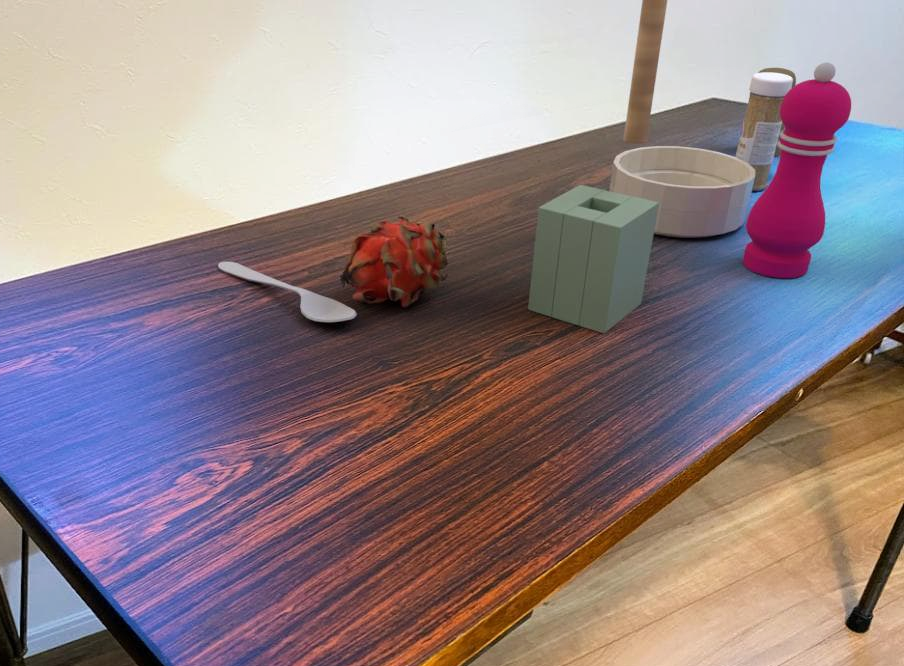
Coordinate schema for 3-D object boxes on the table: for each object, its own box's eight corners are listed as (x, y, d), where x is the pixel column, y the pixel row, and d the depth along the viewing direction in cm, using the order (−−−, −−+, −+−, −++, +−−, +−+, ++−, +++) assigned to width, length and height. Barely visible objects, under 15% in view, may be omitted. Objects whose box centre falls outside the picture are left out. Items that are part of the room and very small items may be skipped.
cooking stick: (650, 139, 82) (688, -116, 71) (640, 145, 80) (678, -115, 70) (629, 136, 83) (664, -117, 72) (619, 141, 81) (653, -115, 71)
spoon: (334, 339, 80) (334, 323, 79) (204, 269, 93) (202, 254, 92) (369, 325, 82) (369, 308, 81) (237, 258, 95) (236, 243, 94)
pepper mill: (807, 286, 89) (868, 74, 78) (731, 272, 92) (779, 66, 81) (816, 260, 94) (873, 59, 83) (743, 248, 97) (790, 51, 86)
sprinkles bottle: (725, 179, 116) (749, 70, 109) (762, 181, 116) (788, 71, 109) (732, 191, 112) (757, 79, 105) (770, 193, 112) (798, 80, 105)
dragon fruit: (454, 300, 90) (353, 346, 86) (410, 232, 92) (309, 274, 88) (483, 255, 82) (372, 303, 78) (434, 182, 84) (324, 225, 80)
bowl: (762, 212, 106) (774, 162, 103) (713, 252, 96) (725, 197, 93) (640, 186, 114) (648, 138, 111) (584, 220, 104) (590, 169, 101)
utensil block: (641, 304, 86) (659, 202, 80) (604, 334, 81) (621, 227, 75) (567, 282, 90) (580, 184, 84) (527, 309, 85) (538, 207, 79)
